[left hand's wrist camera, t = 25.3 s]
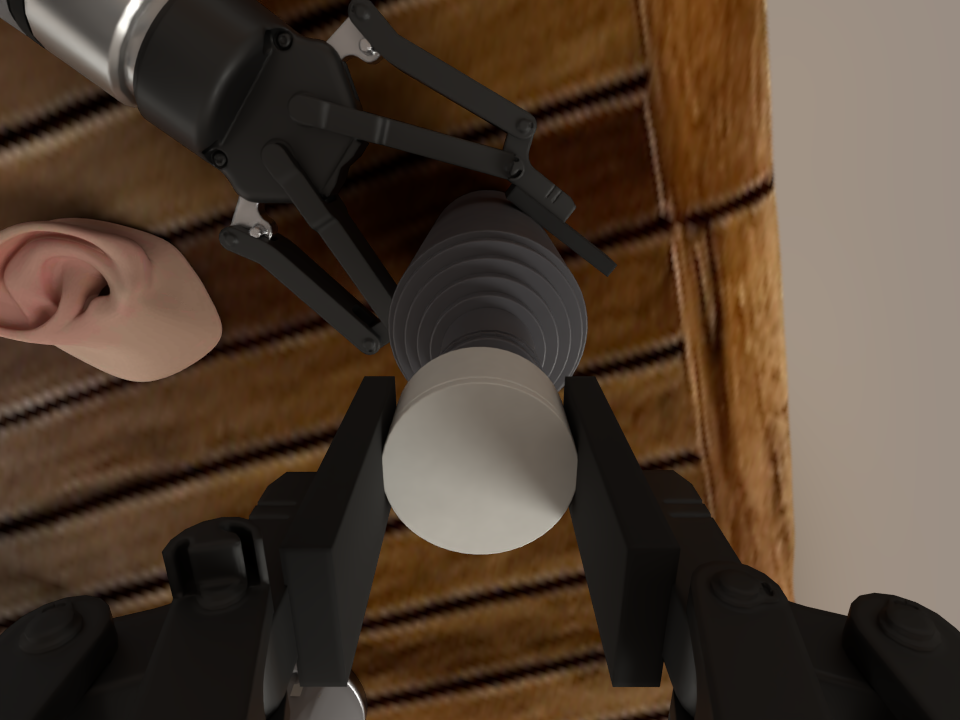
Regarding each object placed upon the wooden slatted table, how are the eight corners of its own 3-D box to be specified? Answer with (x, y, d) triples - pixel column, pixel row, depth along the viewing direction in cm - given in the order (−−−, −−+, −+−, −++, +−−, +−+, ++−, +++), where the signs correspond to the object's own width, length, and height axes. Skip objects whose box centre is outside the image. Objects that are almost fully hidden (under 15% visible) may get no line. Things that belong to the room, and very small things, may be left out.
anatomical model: (223, 325, 34) (121, 446, 37) (249, 306, 38) (154, 418, 41) (18, 160, 31) (-75, 308, 34) (68, 158, 34) (-19, 291, 37)
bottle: (508, 166, 34) (539, 206, 14) (565, 269, 37) (661, 430, 17) (407, 229, 36) (305, 347, 16) (467, 325, 38) (447, 535, 18)
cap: (418, 509, 16) (407, 568, 13) (375, 364, 14) (356, 403, 12) (576, 482, 15) (591, 538, 13) (549, 330, 14) (562, 364, 12)
